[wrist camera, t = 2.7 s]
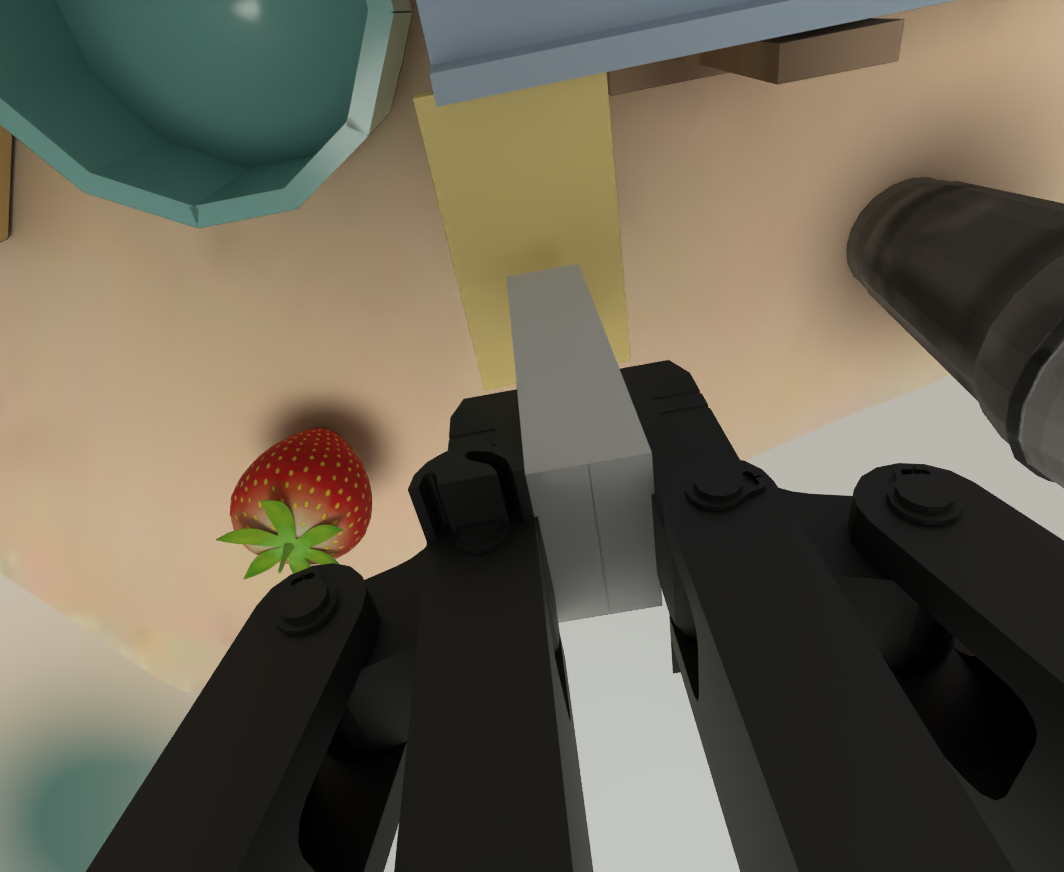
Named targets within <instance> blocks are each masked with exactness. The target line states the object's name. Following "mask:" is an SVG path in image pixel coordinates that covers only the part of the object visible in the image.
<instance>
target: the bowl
mask: <svg viewBox="0 0 1064 872" xmlns="http://www.w3.org/2000/svg"><path fill="white" fill-rule="evenodd" d="M410 11H412V8H411V3H410V0H0V125H1V126H3V127H4V128H5V129H6V130H8V131H9V132H10V133H11V134H12V135H14V136H15V137H16V138H17V139H19V140H20V141H21V142H22V143H24V144H25V145H26V146H27V147H28V148H30V149H31V150H32V151H33V152H35V153H36V154H37V155H38V156H39V157H41V158H42V159H43V160H44V161H46V162H47V163H48V164H49V165H50V166H52V167H53V168H54V169H55V170H57V171H58V172H59V173H60V174H62V175H63V176H64V177H65V178H66V179H68V180H69V181H70V182H71V183H73V184H74V185H75V186H76V187H77V188H79V189H80V190H81V191H82V192H83V191H84V193H87V194H90V195H93V196H97V197H100V198H103V199H106V200H109V201H113V202H116V203H119V204H122V205H125V206H128V207H132V208H135V209H138V210H141V211H144V212H147V213H151V214H154V215H157V216H160V217H163V218H167V219H170V220H173V221H176V222H179V223H182V224H186V225H189V226H192V227H195V228H203V227H208V226H213V225H218V224H223V223H229V222H234V221H239V220H244V219H249V218H254V217H260V216H265V215H270V214H275V213H280V212H285V211H291V210H296V209H297V208H299V207H300V206H301V205H302V204H303V203H304V202H305V201H306V200H307V199H308V198H309V197H310V196H311V195H312V194H313V193H314V192H315V191H316V190H317V189H318V188H319V187H320V186H321V184H322V183H323V182H324V181H325V180H326V179H327V178H328V177H329V176H330V175H331V174H332V173H333V172H334V171H335V170H336V169H337V168H338V167H339V166H340V165H341V164H342V163H343V162H344V161H345V160H346V159H347V158H348V157H349V156H350V155H351V154H352V153H353V152H354V150H355V149H356V148H357V147H358V146H359V145H360V144H361V143H362V142H363V141H364V140H365V139H366V138H367V137H368V136H369V135H370V134H371V133H372V131H373V130H374V129H375V128H376V127H377V126H378V125H379V123H380V122H381V121H382V120H383V119H384V118H385V117H386V116H387V114H388V113H389V112H390V110H391V106H392V102H393V97H394V93H395V88H396V84H397V81H398V77H399V74H400V70H401V67H402V63H403V58H404V52H405V46H406V40H407V34H408V29H409V25H410V20H411V16H412V12H410Z"/></svg>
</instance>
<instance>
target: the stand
mask: <svg viewBox="0 0 1064 872" xmlns="http://www.w3.org/2000/svg"><path fill="white" fill-rule="evenodd" d="M903 26H904V19H879V18H868V19H863V20H858V21H853V22H848V23H844V24H839V25H834V26H829V27H824V28H819V29H814V30H809V31H804V32H800V33H795V34H790V35H785V36H780V37H775V38H770V39H765V40H760V41H756V42H751V43H746V44H741V45H736V46H731V47H726V48H721V49H716V50H712V51H707V52H702V53H697V54H692V55H687V56H682V57H677V58H673V59H668V60H663V61H658V62H653V63H648V64H643V65H638V66H633V67H629V68H624V69H619V70H614V71H609V72H607V84H608V94H610V95H611V96H612V95H617V94H622V93H627V92H632V91H637V90H642V89H647V88H652V87H657V86H662V85H668V84H673V83H678V82H683V81H688V80H693V79H698V78H703V77H708V76H713V75H718V74H723V73H729V72H730V73H734V74H738V75H742V76H746V77H750V78H754V79H758V80H762V81H766V82H770V83H774V84H783V83H788V82H793V81H798V80H803V79H808V78H814V77H819V76H824V75H829V74H834V73H839V72H844V71H849V70H854V69H860V68H865V67H870V66H875V65H880V64H885V63H890V62H895V61H898V59H899V52H900V46H901V39H902V32H903Z"/></svg>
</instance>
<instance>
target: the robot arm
mask: <svg viewBox="0 0 1064 872" xmlns="http://www.w3.org/2000/svg"><path fill="white" fill-rule="evenodd" d="M507 288H508V299H509V309H510V320H511V330H512V341H513V351H514V362H515V373H516V383H517V390H511V391H505V392H500V393H494V394H489V395H483V396H478V397H472V398H466V399H463V401H462V402H461V404H460V405H459V406H458V408H457V409H456V411H455V412H454V413H453V415H452V416H451V419H450V432H449V438H450V440H449V445H448V451H446V452H444V453H442V454H441V455H439V456H437V457H435V458H434V459H432V460H430V461H428V462H427V463H426V464H425V465H424V466H423V467H422V468H421V469H420V470H419V471H418V472H417V473H416V474H415V475H414V477H413V479H412V481H411V484H410V486H409V488H408V491H409V494H410V497H411V500H412V502H413V505H414V508H415V510H416V513H417V516H418V519H419V521H420V524H421V527H422V530H423V532H424V535H425V538H426V540H427V546H426V547H425V548H424V549H423V550H422V551H421V552H419V553H418V554H417V555H415V556H414V557H413V558H411V559H409V560H408V561H406V562H404V563H402V564H400V565H398V566H396V567H394V568H391V569H389V570H387V571H384V572H382V573H380V574H377V575H375V576H373V577H370V578H368V579H366V580H364V579H363V577H362V576H361V575H360V574H359V573H358V572H356V571H355V570H354V569H353V568H352V567H350V566H345V565H340V564H335V563H330V564H322V565H315V566H311V567H308V568H306V569H304V570H301V571H299V572H296V573H294V574H292V575H290V576H288V577H287V578H286V579H284V580H283V581H281V582H280V583H279V584H277V585H276V586H274V587H273V588H272V589H271V590H270V591H269V592H268V593H267V594H266V596H265V597H264V598H263V599H262V600H261V601H260V602H259V604H258V605H257V606H256V608H255V609H254V611H253V612H252V614H251V615H250V617H249V618H248V620H247V622H246V623H245V625H244V626H243V628H242V629H241V631H240V632H239V634H238V636H237V637H236V639H235V640H234V642H233V643H232V645H231V646H230V648H229V650H228V651H227V653H226V654H225V656H224V657H223V659H222V660H221V662H220V664H219V665H218V667H217V668H216V670H215V671H214V673H213V674H212V676H211V678H210V679H209V681H208V682H207V684H206V685H205V687H204V688H203V690H202V692H201V693H200V695H199V696H198V698H197V699H196V701H195V702H194V704H193V706H192V707H191V709H190V710H189V712H188V714H187V715H186V716H185V718H184V720H183V721H182V723H181V724H180V726H179V727H178V729H177V731H176V732H175V734H174V735H173V737H172V738H171V740H170V741H169V743H168V745H167V746H166V748H165V749H164V751H163V752H162V754H161V755H160V757H159V759H158V760H157V762H156V763H155V765H154V766H153V768H152V770H151V771H150V773H149V774H148V776H147V777H146V779H145V781H144V782H143V784H142V785H141V787H140V788H139V790H138V791H137V793H136V794H135V796H134V797H133V799H132V801H131V802H130V804H129V806H128V807H127V808H126V810H125V812H124V813H123V815H122V816H121V818H120V819H119V821H118V822H117V824H116V826H115V827H114V829H113V830H112V832H111V833H110V835H109V836H108V838H107V840H106V841H105V843H104V844H103V846H102V847H101V849H100V850H99V852H98V854H97V855H96V857H95V858H94V860H93V861H92V863H91V864H90V866H89V868H88V869H87V871H86V872H384V869H385V866H386V862H387V859H388V856H389V853H390V849H391V846H392V843H393V840H394V837H395V833H396V830H397V827H398V824H399V830H398V840H397V851H396V860H395V870H394V872H593V866H592V859H591V851H590V843H589V836H588V829H587V822H586V814H585V806H584V799H583V791H582V783H581V776H580V768H579V761H578V753H577V745H576V738H575V730H574V723H573V715H572V708H571V700H570V693H569V685H568V678H567V670H566V663H565V656H564V651H563V647H562V642H561V638H560V633H559V625H558V623H559V622H565V621H570V620H577V619H583V618H589V617H595V616H602V615H608V614H614V613H619V612H625V611H632V610H638V609H644V608H650V607H656V606H662V594H661V588H662V591H663V595H664V597H665V601H666V604H667V607H668V610H669V614H670V631H671V647H672V663H673V673H678V672H681V674H682V678H683V681H684V684H685V688H686V691H687V694H688V698H689V701H690V704H691V708H692V711H693V715H694V718H695V721H696V725H697V728H698V731H699V734H700V738H701V741H702V744H703V748H704V751H705V755H706V758H707V761H708V765H709V768H710V771H711V775H712V778H713V782H714V785H715V788H716V792H717V795H718V798H719V802H720V805H721V808H722V812H723V815H724V818H725V822H726V825H727V828H728V832H729V835H730V838H731V842H732V845H733V848H734V852H735V855H736V859H737V862H738V865H739V869H740V872H1064V541H1063V540H1062V539H1061V538H1059V537H1057V536H1056V535H1054V534H1053V533H1051V532H1050V531H1048V530H1047V529H1045V528H1043V527H1042V526H1041V525H1039V524H1037V523H1036V522H1034V521H1033V520H1031V519H1030V518H1028V517H1027V516H1025V515H1024V514H1022V513H1021V512H1019V511H1017V510H1015V509H1014V508H1013V507H1011V506H1010V505H1008V504H1006V503H1005V502H1004V501H1002V500H1001V499H999V498H997V497H996V496H994V495H993V494H991V493H990V492H988V491H987V490H985V489H984V488H982V487H980V486H979V485H977V484H976V483H974V482H972V481H970V480H968V479H966V478H964V477H962V476H960V475H958V474H956V473H954V472H952V471H949V470H945V469H941V468H937V467H933V466H929V465H925V464H905V463H903V464H902V463H897V464H892V465H887V466H882V467H877V468H875V469H873V470H872V471H870V472H869V473H867V474H865V475H863V476H862V477H861V478H860V480H859V482H858V483H857V485H856V487H855V489H854V492H853V496H841V495H821V494H807V493H800V492H792V491H788V490H785V489H781V488H778V487H777V485H776V484H775V482H774V481H773V480H772V479H771V478H770V477H769V476H768V475H767V474H766V473H765V472H764V471H763V470H762V469H760V468H758V467H756V466H754V465H752V464H750V463H748V462H746V461H742V460H740V459H739V457H738V456H737V454H736V452H735V451H734V449H733V447H732V445H731V444H730V442H729V440H728V438H727V437H726V435H725V433H724V431H723V430H722V428H721V426H720V425H719V423H718V421H717V419H716V418H715V416H714V414H713V412H712V411H711V409H710V408H708V404H707V402H706V400H705V399H704V397H703V395H702V393H701V394H700V390H699V388H698V386H697V385H696V383H695V381H694V379H693V378H692V376H691V374H690V373H689V372H688V371H686V370H684V369H683V368H681V367H679V366H678V365H676V364H674V363H673V362H671V361H670V360H666V361H661V362H655V363H650V364H644V365H638V366H633V367H627V368H622V369H619V366H618V364H617V361H616V359H615V356H614V354H613V351H612V348H611V346H610V343H609V341H608V338H607V335H606V333H605V330H604V328H603V325H602V323H601V320H600V317H599V315H598V312H597V310H596V307H595V304H594V302H593V299H592V297H591V294H590V291H589V289H588V286H587V284H586V281H585V279H584V276H583V273H582V271H581V268H580V266H579V264H574V265H568V266H563V267H558V268H552V269H547V270H542V271H536V272H531V273H526V274H520V275H515V276H509V277H507Z"/></svg>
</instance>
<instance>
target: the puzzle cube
mask: <svg viewBox="0 0 1064 872" xmlns="http://www.w3.org/2000/svg"><path fill="white" fill-rule="evenodd" d="M11 157H12V134H11V133H10V132H9V131H8V130H6V129H5V128H4V127H3V126H1V125H0V242H2V241H4V240H6V239H8V231H9V207H10V182H11Z"/></svg>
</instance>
